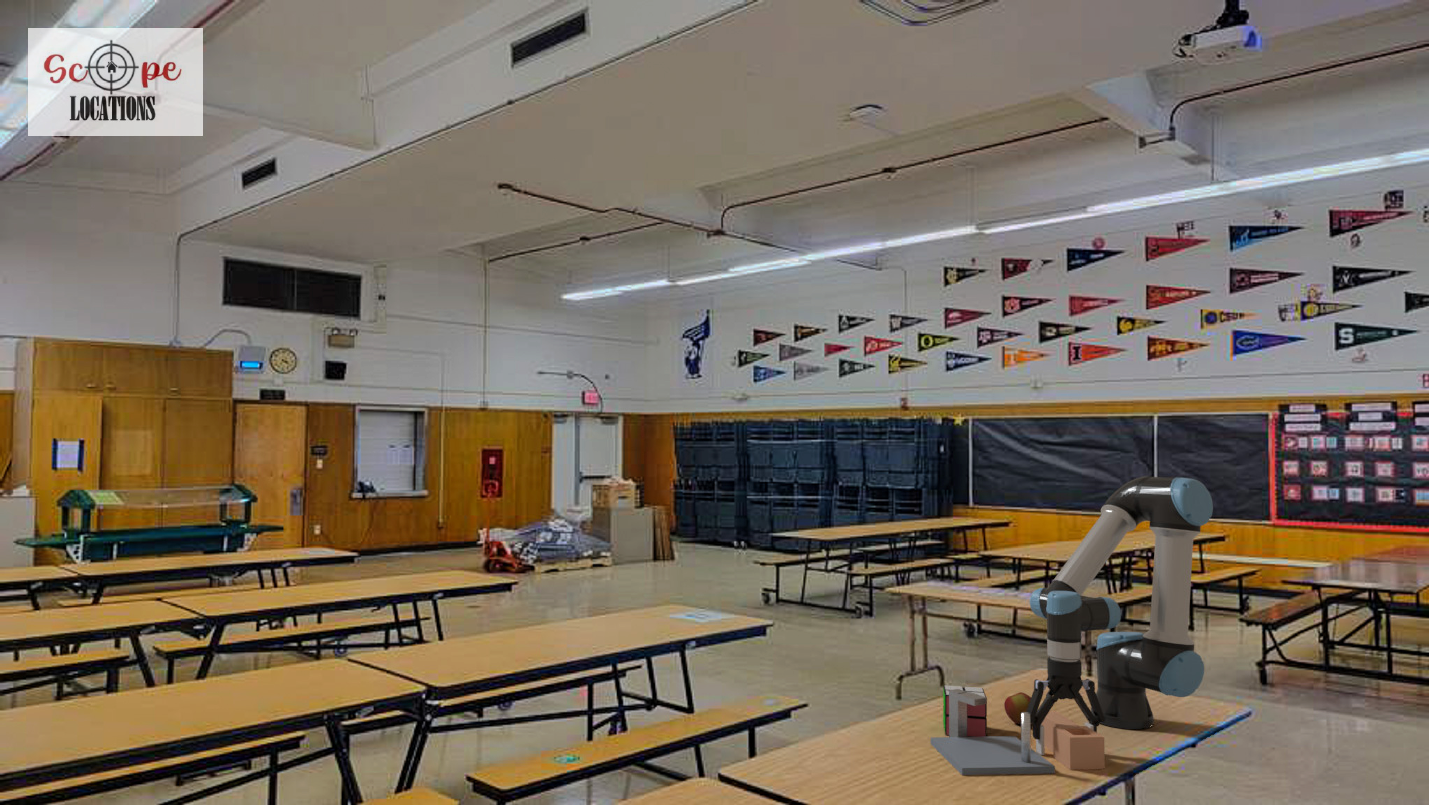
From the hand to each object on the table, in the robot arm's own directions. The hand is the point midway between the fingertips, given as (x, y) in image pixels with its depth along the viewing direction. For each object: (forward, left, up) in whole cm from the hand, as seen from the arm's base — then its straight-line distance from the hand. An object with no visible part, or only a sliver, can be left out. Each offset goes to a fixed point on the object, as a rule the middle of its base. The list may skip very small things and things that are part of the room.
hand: (1064, 752), depth 211 cm
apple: (0, -23, 0) cm, 23 cm away
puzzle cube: (+17, -18, 0) cm, 25 cm away
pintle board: (+19, +2, 0) cm, 19 cm away
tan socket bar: (0, 0, 0) cm, 0 cm away
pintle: (+13, +9, 0) cm, 16 cm away
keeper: (+21, -7, 0) cm, 22 cm away
